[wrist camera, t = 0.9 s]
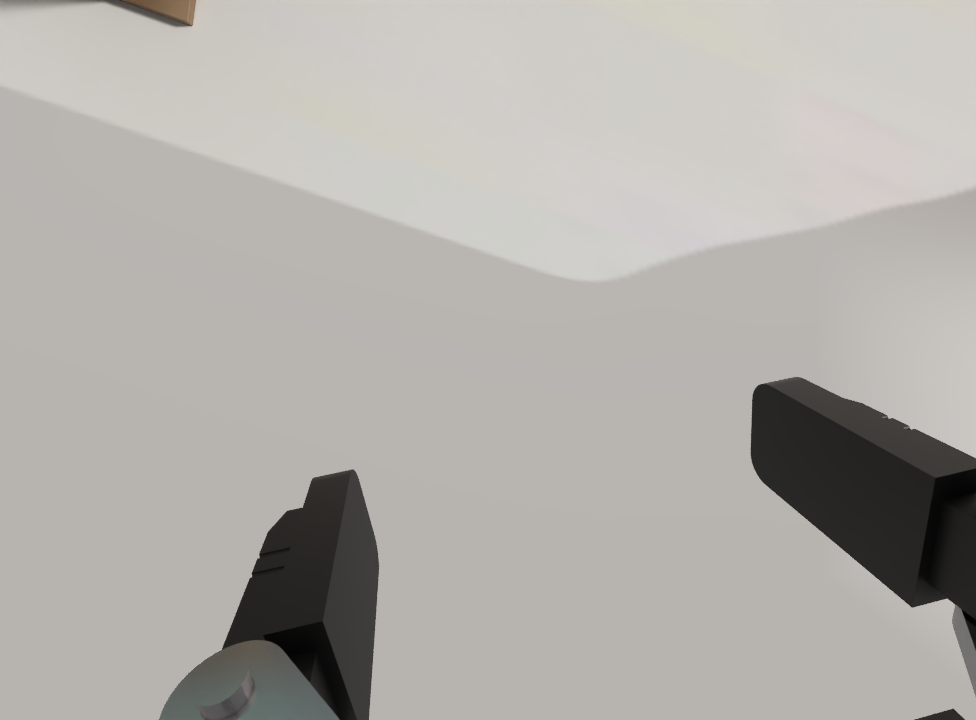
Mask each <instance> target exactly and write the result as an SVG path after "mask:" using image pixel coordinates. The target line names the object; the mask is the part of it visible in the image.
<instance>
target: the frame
mask: <svg viewBox="0 0 976 720" xmlns="http://www.w3.org/2000/svg"><path fill="white" fill-rule="evenodd" d="M121 1H124V2H126V3H129V4H132V5H135V6H138V7H141V8H143V9H146V10H149V11H152V12H155V13H158V14H160V15H163V16H166V17H169V18H172V19H175V20H177V21H180V22H183V23H186V24H189V25H192V26H193V19H194V11H195V3H196V0H121Z"/></svg>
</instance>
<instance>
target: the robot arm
mask: <svg viewBox="0 0 976 720" xmlns="http://www.w3.org/2000/svg"><path fill="white" fill-rule="evenodd" d="M751 459H752V463H753V466H754V469H755V471H756V473H757V475H758V476H759V478H760V479H761V480H762V482H763V483H764V484H766V485H767V486H768V487H769V488H770V489H771V490H773V491H774V492H775V493H776V494H777V495H778V496H780V497H781V498H782V499H783V500H784V501H786V502H787V503H788V504H789V505H790V506H792V507H793V508H794V509H795V510H797V511H798V512H799V513H800V514H801V515H802V516H804V517H805V518H806V519H807V520H808V521H809V522H811V523H812V524H813V525H814V526H816V527H817V528H818V529H819V530H820V531H821V532H823V533H824V534H825V535H826V536H827V537H829V538H830V539H831V540H832V541H833V542H835V543H836V544H837V545H838V546H839V547H840V548H842V549H843V550H844V551H845V552H846V553H848V554H849V555H850V556H851V557H852V558H854V559H855V560H856V561H857V562H858V563H860V564H861V565H862V566H863V567H865V568H866V569H867V570H868V571H869V572H870V573H872V574H873V575H874V576H875V577H876V578H877V579H879V580H880V581H881V582H882V583H883V584H885V585H886V586H887V587H888V588H889V589H891V590H892V591H893V592H894V593H895V594H897V595H898V596H899V597H900V598H901V599H903V600H904V601H905V602H906V603H907V604H909V605H910V606H911V607H916V606H920V605H924V604H927V603H931V602H935V601H939V600H942V599H947V598H948V599H949V600H950V601H952V602H953V603H954V604H955V609H954V613H953V619H952V623H953V627H954V631H955V634H956V637H957V640H958V643H959V646H960V649H961V652H962V655H963V658H964V661H965V665H966V668H967V671H968V674H969V677H970V680H971V683H972V686H973V689H974V693H975V696H976V458H974V457H972V456H970V455H968V454H966V453H964V452H962V451H959V450H958V449H955V448H953V447H951V446H949V445H947V444H945V443H943V442H941V441H939V440H937V439H935V438H933V437H931V436H929V435H926V434H924V433H922V432H920V431H918V430H916V429H912V430H911V429H910V428H909V426H908V425H906V424H904V423H902V422H900V421H898V420H895V419H893V418H891V419H888V416H887V415H885V414H883V413H881V412H879V411H877V410H874V409H872V408H871V407H869V406H866V405H864V404H862V403H859V402H855V401H852V400H848V399H844V398H842V397H840V396H838V395H835V394H834V393H831V392H829V391H827V390H825V389H823V388H821V387H819V386H817V385H815V384H813V383H811V382H809V381H807V380H805V379H803V378H799V377H793V378H788V379H783V380H779V381H774V382H769V383H765V384H761V385H758V386H757V387H756V389H755V390H754V393H753V400H752V429H751ZM259 555H260V558H259V559H257V561H256V564H255V566H254V569H253V572H252V578H250V579H249V582H248V584H247V587H246V589H245V592H244V595H243V597H242V600H241V602H240V605H239V607H238V610H237V612H236V615H235V617H234V620H233V623H232V625H231V628H230V631H229V633H228V635H227V638H226V641H225V643H224V645H223V648H222V650H221V651H219V652H217V653H215V654H214V655H212V656H211V657H209V658H207V659H206V660H204V661H203V662H202V663H201V664H199V665H198V666H197V667H195V668H194V669H193V670H192V671H191V672H190V673H189V674H188V675H187V676H186V677H185V678H184V679H183V680H182V681H181V682H180V683H179V684H178V686H177V687H176V688H175V690H174V691H173V692H172V694H171V695H170V697H169V699H168V700H167V702H166V704H165V706H164V708H163V710H162V713H161V716H160V719H159V720H369V708H370V694H371V678H372V663H373V649H374V634H375V619H376V604H377V589H378V575H379V561H378V551H377V545H376V540H375V536H374V532H373V528H372V525H371V521H370V518H369V514H368V511H367V507H366V503H365V500H364V496H363V493H362V489H361V486H360V482H359V479H358V476H357V474H356V472H355V471H354V470H348V471H344V472H339V473H334V474H329V475H325V476H320V477H315V478H313V479H312V481H311V484H310V487H309V490H308V493H307V497H306V500H305V503H304V506H303V508H299V509H294V510H290V511H287V512H286V513H285V514H284V515H283V516H282V517H281V518H280V519H279V520H278V522H277V523H276V524H275V525H274V526H273V527H272V528H271V529H270V531H269V532H268V533H267V536H266V539H265V541H264V544H263V546H262V549H261V551H260V554H259ZM915 720H965V719H964V718H963V717H961V716H960V715H959V714H958V713H957V712H956V711H955V710H954V709H951V710H947V711H944V712H940V713H937V714H933V715H930V716H926V717H922V718H919V719H915Z"/></svg>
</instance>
